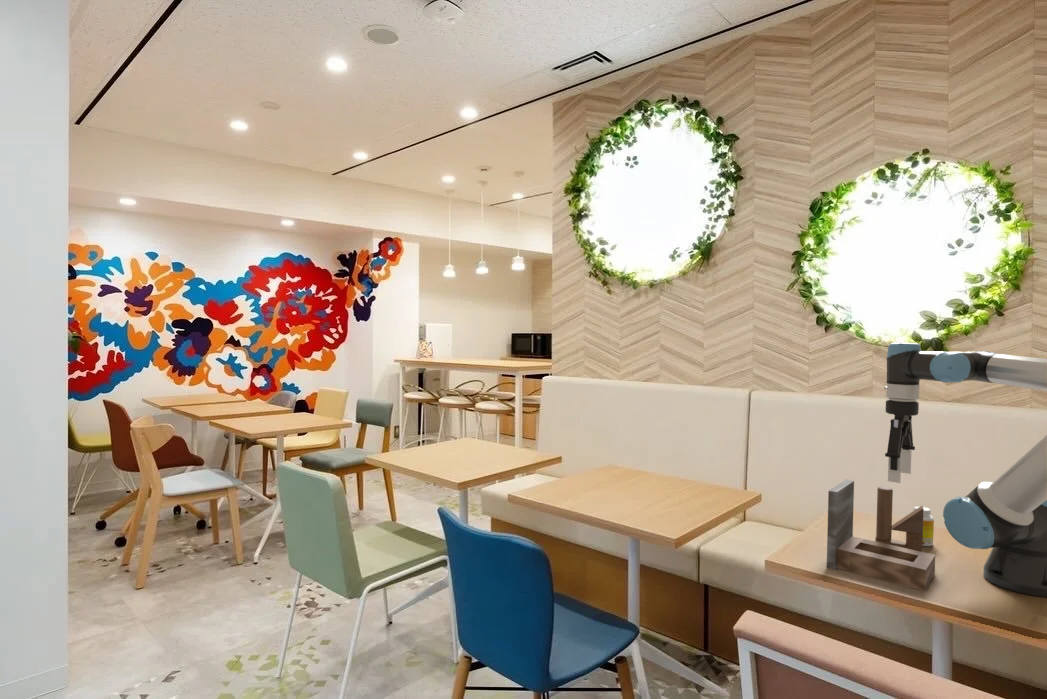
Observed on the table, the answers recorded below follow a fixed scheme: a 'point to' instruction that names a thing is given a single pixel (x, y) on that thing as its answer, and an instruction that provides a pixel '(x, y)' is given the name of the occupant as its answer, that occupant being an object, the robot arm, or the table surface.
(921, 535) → the wooden block
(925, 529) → the supplement bottle
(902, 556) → the post block
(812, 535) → the table surface
